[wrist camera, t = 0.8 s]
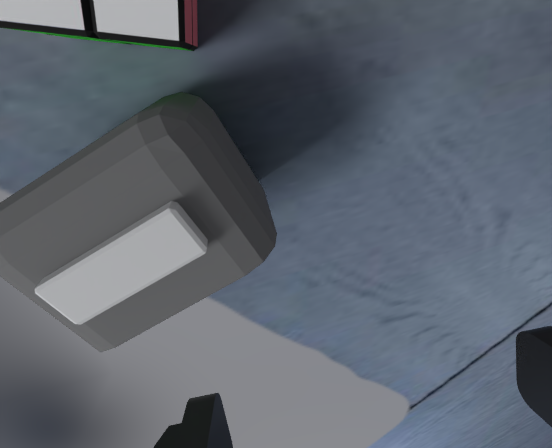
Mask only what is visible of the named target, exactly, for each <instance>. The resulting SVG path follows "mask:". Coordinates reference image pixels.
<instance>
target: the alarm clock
mask: <svg viewBox="0 0 552 448" xmlns="http://www.w3.org/2000/svg"><path fill="white" fill-rule="evenodd" d="M276 236H277V232H276V229H275V226H274V222H273V219H272V216H271V212H270V209H269V206H268V202H267V199H266V196H265V192H264V190H263V188H262V186H261V185H260V183H259V182H258V180H257V178H256V177H255V175H254V174H253V172H252V170H251V169H250V167H249V166H248V164H247V163H246V161H245V159H244V158H243V156H242V155H241V153H240V151H239V150H238V148H237V147H236V145H235V144H234V142H233V140H232V139H231V137H230V136H229V134H228V132H227V131H226V129H225V128H224V126H223V125H222V123H221V121H220V120H219V118H218V117H217V115H216V113H215V112H214V110H213V109H212V108H211V107H210V106H209V105H208V104H206V103H205V102H204V101H203V100H202V99H201V98H200V97H198V96H194V95H191V94H187V93H183V92H179V93H176V94H172V95H169V96H165V97H163V98H161V99H160V100H158V101H157V102H155V103H153V104H152V105H150V106H149V107H147V108H146V109H144V110H142V111H141V112H139V113H138V114H136V115H135V116H133V117H132V118H130V119H128V120H127V121H125V122H124V123H122V124H121V125H119V126H118V127H116V128H115V129H113V130H111V131H110V132H108V133H107V134H105V135H104V136H102V137H101V138H99V139H98V140H96V141H95V142H93V143H91V144H90V145H88V146H87V147H85V148H84V149H82V150H81V151H79V152H78V153H76V154H75V155H73V156H71V157H70V158H68V159H67V160H65V161H64V162H62V163H61V164H59V165H58V166H56V167H55V168H53V169H51V170H50V171H48V172H47V173H45V174H44V175H42V176H41V177H39V178H38V179H36V180H34V181H33V182H31V183H30V184H28V185H27V186H25V187H24V188H22V189H21V190H19V191H18V192H16V193H14V194H13V195H11V196H10V197H8V198H7V199H5V200H4V201H2V202H1V203H0V276H1V277H2V278H3V279H5V280H6V281H7V282H8V283H10V284H11V285H13V286H14V287H15V288H16V289H18V290H19V291H20V292H22V293H23V294H24V295H26V296H27V297H28V298H30V299H31V300H32V301H33V302H35V303H36V304H37V305H39V306H40V307H42V308H43V309H44V310H45V311H47V312H48V313H50V314H51V315H52V316H53V317H55V318H56V319H57V320H59V321H60V322H61V323H62V324H64V325H65V326H66V327H68V328H69V329H71V330H72V331H73V332H74V333H76V334H77V335H78V336H80V337H81V338H82V339H84V340H85V341H86V342H88V343H89V344H90V345H92V346H93V347H94V348H95V349H97V350H98V351H99V352H103V351H106V350H109V349H112V348H115V347H117V346H119V345H121V344H123V343H124V342H126V341H128V340H130V339H132V338H133V337H135V336H137V335H139V334H141V333H142V332H144V331H146V330H148V329H150V328H151V327H153V326H155V325H157V324H159V323H161V322H162V321H164V320H166V319H168V318H169V317H171V316H173V315H175V314H177V313H179V312H180V311H182V310H184V309H186V308H188V307H189V306H191V305H193V304H195V303H197V302H199V301H200V300H202V299H204V298H206V297H208V296H209V295H211V294H213V293H215V292H217V291H218V290H220V289H222V288H224V287H226V286H227V285H229V284H231V283H233V282H235V281H237V280H238V279H240V278H242V277H244V276H246V275H247V274H248V273H250V272H251V271H252V270H254V269H255V268H256V267H258V266H259V265H260V264H261V263H263V262H264V261H265V259H266V258H267V257H268V255H269V254H270V252H271V251H272V250H273V248H274V247H275V243H276Z"/></svg>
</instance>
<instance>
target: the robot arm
mask: <svg viewBox="0 0 552 448" xmlns="http://www.w3.org/2000/svg"><path fill="white" fill-rule="evenodd" d="M516 372H517V386H518V389H519V391H520V394H521V396H522V397H523V399H524V401H525V402H526V403H527V405H528V406H529V407H530V408H531V409H532V410H533V411H534V412H535V413H537V414H538V415H539V416H540V417H541V418H542V419H543V420H544V421H545V422H546V423H547V424H549V425H550V426H551V427H552V326H547V327H542V328H537V329H532V330H527V331H522V332H520V333H518V335H517V337H516ZM154 448H233V445H232V440H231V436H230V432H229V428H228V424H227V420H226V416H225V412H224V408H223V404H222V400H221V397H220V395H219V393H215V394H210V395H205V396H200V397H195V398H190V399H189V400H188V402H187V405H186V409H185V413H184V417H183V420H182V423H180V424H176V425H171V426H169V427H168V428H167V429H166V431H165V432H164V433H163V435H162V436H161V438H160V439H159V440H158V442H157V443H156V445H155V446H154Z"/></svg>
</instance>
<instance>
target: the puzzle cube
mask: <svg viewBox="0 0 552 448" xmlns="http://www.w3.org/2000/svg"><path fill="white" fill-rule="evenodd" d="M0 28H7V29H14V30H21V31H29V32H36V33H44V34H48V35H55V36H62V37H68V38H76V39H85V40H95V41H104V42H113V43H122V44H135V45H143V46H152V47H161V48H171V49H180V50H189V51H194V50H195V49H196V48H197V47H198V38H197V0H0Z"/></svg>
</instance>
